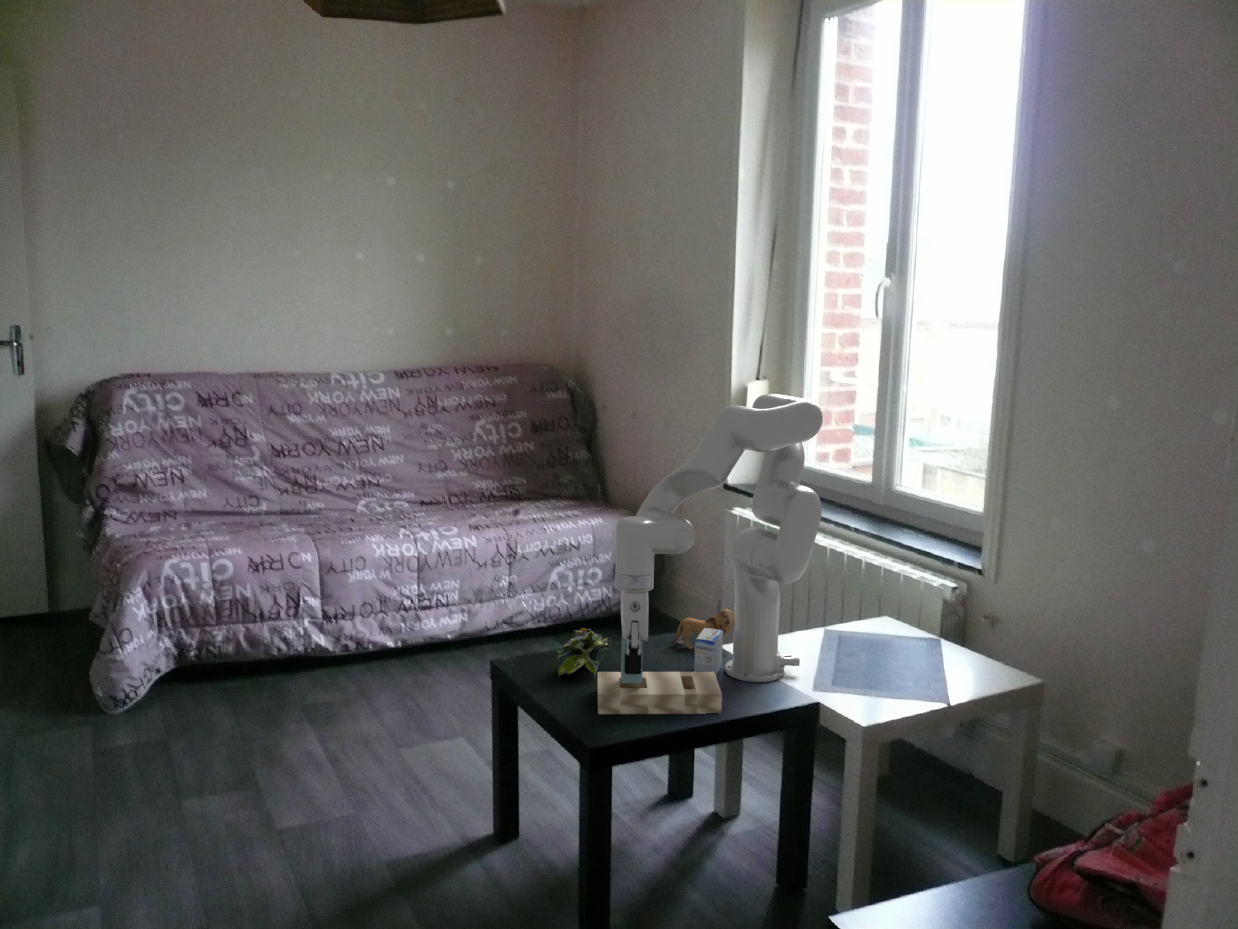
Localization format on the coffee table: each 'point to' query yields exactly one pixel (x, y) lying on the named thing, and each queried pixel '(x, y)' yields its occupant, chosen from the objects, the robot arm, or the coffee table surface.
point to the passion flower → (583, 651)
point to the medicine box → (708, 651)
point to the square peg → (624, 677)
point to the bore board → (659, 693)
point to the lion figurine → (704, 626)
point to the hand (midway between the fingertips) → (632, 668)
